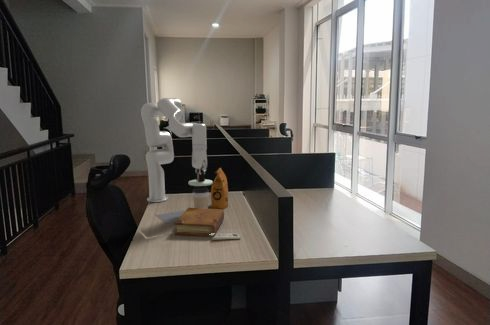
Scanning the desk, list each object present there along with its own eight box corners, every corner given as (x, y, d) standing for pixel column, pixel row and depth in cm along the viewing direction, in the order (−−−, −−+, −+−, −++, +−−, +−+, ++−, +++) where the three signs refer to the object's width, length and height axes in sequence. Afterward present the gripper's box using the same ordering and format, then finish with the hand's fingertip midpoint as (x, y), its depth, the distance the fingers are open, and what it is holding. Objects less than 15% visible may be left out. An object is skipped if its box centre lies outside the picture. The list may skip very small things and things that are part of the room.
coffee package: (208, 209, 212) (207, 171, 209) (214, 203, 224) (213, 167, 221) (225, 209, 210) (224, 171, 207) (230, 203, 222) (229, 167, 219)
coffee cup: (211, 211, 208) (210, 185, 205) (207, 216, 199) (207, 188, 196) (195, 210, 208) (194, 184, 206) (191, 215, 200) (190, 188, 197)
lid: (184, 182, 203) (184, 171, 202) (206, 180, 210) (205, 169, 209) (194, 187, 192) (194, 175, 191) (216, 184, 199) (216, 173, 198)
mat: (155, 216, 198) (155, 215, 198) (183, 211, 207) (183, 210, 207) (165, 224, 185) (165, 223, 185) (195, 219, 193) (195, 217, 193)
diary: (214, 237, 168) (214, 224, 167) (174, 234, 171) (174, 222, 170) (224, 219, 191) (224, 208, 190) (188, 217, 193) (188, 207, 192)
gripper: (186, 145, 203) (188, 178, 206) (199, 149, 189) (200, 184, 192) (199, 145, 207) (200, 177, 209) (212, 148, 193) (213, 182, 196)
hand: (200, 180), depth 201 cm, fingers closed on lid, 3 cm apart
